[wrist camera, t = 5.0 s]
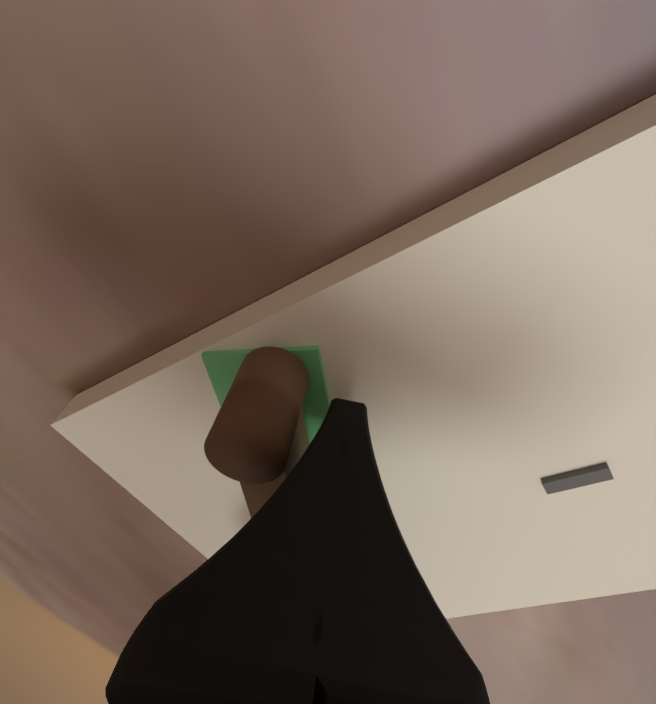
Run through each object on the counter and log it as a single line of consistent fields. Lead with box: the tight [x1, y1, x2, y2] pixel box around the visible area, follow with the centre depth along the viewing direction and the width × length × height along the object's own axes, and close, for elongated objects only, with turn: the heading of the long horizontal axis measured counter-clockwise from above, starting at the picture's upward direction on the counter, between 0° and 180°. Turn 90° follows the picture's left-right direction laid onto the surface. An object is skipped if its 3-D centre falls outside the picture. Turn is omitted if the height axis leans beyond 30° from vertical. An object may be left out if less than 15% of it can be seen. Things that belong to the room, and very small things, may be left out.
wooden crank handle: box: [204, 346, 309, 518], centre depth 14 cm, size 10×3×3 cm, turn 7°
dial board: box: [51, 94, 656, 619], centre depth 16 cm, size 15×20×2 cm
